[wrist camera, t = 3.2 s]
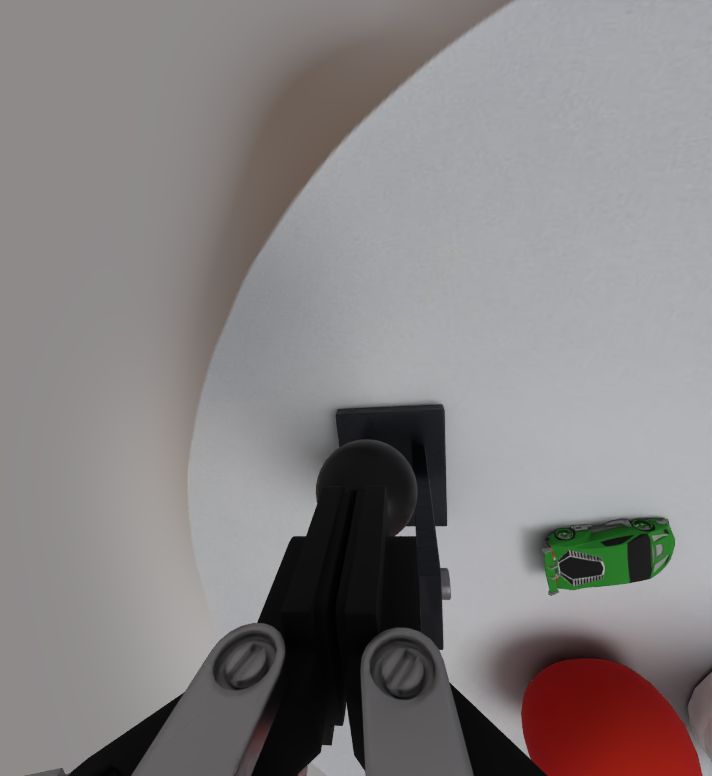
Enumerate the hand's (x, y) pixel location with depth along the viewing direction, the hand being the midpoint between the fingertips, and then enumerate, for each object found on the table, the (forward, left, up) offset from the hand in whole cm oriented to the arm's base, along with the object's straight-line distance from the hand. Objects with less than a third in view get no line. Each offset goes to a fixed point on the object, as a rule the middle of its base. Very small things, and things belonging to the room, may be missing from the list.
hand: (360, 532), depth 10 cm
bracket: (+6, +6, -19) cm, 21 cm away
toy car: (0, +23, -19) cm, 30 cm away
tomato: (+11, +33, -19) cm, 40 cm away
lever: (+2, +2, -6) cm, 7 cm away
